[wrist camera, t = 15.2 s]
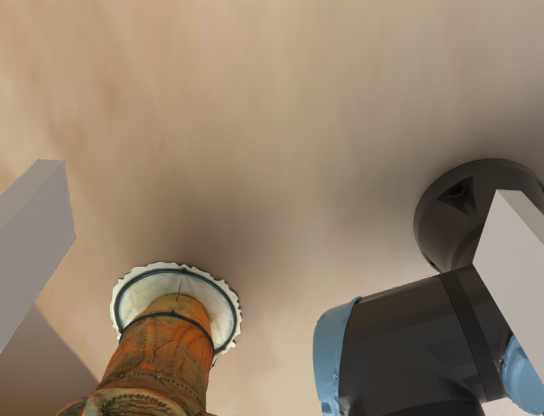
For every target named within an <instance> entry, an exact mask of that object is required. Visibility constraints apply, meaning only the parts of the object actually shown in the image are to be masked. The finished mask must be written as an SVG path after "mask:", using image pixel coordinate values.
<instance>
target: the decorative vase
mask: <svg viewBox="0 0 544 416" xmlns="http://www.w3.org/2000/svg"><path fill="white" fill-rule="evenodd" d="M213 278H214V277H211V276H210V274H209V273H206V272H202V271H200V270H198V269H197V268H195V267H194V266H193V267H192V268H189V267H188V266H187V265H185V264H184V265H182V266H178V265H177V264H176V263H175V262H173V263H168V264H167V263H164V262H161V261H160V262H158V263H155V264H149V265H148V266H147V267H134V268H133V269H132V270H131V272H130V273H128V274H126V275H125V276H124V279H123V280H122V279H118V282H119V283H118V284H117V285H116V286H114V287H113V295H112V301H111V303H110V311H111V318H112V320H113V322H114V323H113V325H112V327H114V328H115V329H116V330H117V333H118V336H117V337H116V339H118V340H119V346H118V348H117V350H116V352H115V353H114V354H113V356H112V358H111V360H110V361H109V364H108V366H107V368H106V371H105V373H104V376H103V378H102V381H101V383H100V384H99V385H98V386H97V388H96V390H95V391H93V392H92V393H91V394H90V395H89V396H88V397H82V398H79V399H77V400H75V401H73V402H71V403H69V404H68V405H66V406H64V407H63V409H61V410H60V411H59V412H58V414H56V415H55V416H217V415H213V414H210V413H207V412H206V391H207V387H208V377H209V371H210V369H211V368H212V367H213V366H214V364H215V362H216V361H215V362H214V364H213V365H212V361H213V358H214V356H216V355H218V354H225V353H226V352H227V351H228V350H229V349H230V348H231V347H233V348H235V344H234V343H233V342H232V341H233V339H234V338H235V336H236V335H238V334H240V333H241V331H240V322H241V321H242V318H241V316H240V314H239V313H240V312H241V311H242V310H239V309H238V306H239V304H238V303H237V302H236V301H237V300H238V297H237V296H236V295H235V293H234V292H232V291H230V290H229V286H228V285H227V284H224V279H223V280H221V281H216V280H213ZM217 359H218V358H217ZM217 359H216V360H217ZM211 365H212V367H211ZM210 367H211V368H210Z"/></svg>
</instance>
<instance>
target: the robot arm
mask: <svg viewBox="0 0 544 416" xmlns="http://www.w3.org/2000/svg"><path fill="white" fill-rule="evenodd" d="M414 235H415V239H416V241H417V244H418V246H419V248H420V250H421V252H422V254H423V256H424V258H425V259H426V260H427V262H428V263H429V264H430V265H431V266H432V267H433V268H434V269H435V270H437V271H438V272H439V273H441V274H439V275H435V276H432V277H429V278H425V279H422V280H419V281H415V282H412V283H409V284H405V285H402V286H399V287H395V288H392V289H389V290H385V291H382V292H379V293H375V294H372V295H369V296H365V297H356V298H355V299H353V300H352V301H351V302H349V303H346V304H343V305H340V306H338V307H335V308H332V309H330V310H328V311H326V312H325V313H323V314H322V315H321V317H320V318H319V320H318V322H317V325H316V328H315V330H314V336H313V367H314V376H315V384H316V389H317V395H318V398H319V401H321V402H322V403H321V406H322V413H323V416H485V414H484V411H483V409H482V406H481V404H482V403H486V402H489V401H493V400H497V399H501V398H506V397H508V398H510V399H511V400H512V402H513V403H515V404H516V405H518V406H519V407H520V408H521V409H522V410H524V411H526V412H528V413H529V414H533V415H540V414H541V413H542V415H543V416H544V183H543V182H542V181H541V180H540V179H539V178H538V177H537V176H536V175H534V174H533V173H532V172H531V171H530V170H529V169H527V168H526V167H524V166H522V165H520V164H518V163H515V162H512V161H508V160H502V159H484V160H477V161H473V162H470V163H466V164H464V165H461V166H459V167H456V168H454V169H453V170H451V171H449V172H447V173H446V174H444V175H443V176H442V177H440V178H439V179H438V180H437V181H436V182H434V183H433V184H432V185H431V187H430V188H429V189H428V190H427V191H426V193H425V194H424V195H423V197H422V199H421V200H420V202H419V204H418V207H417V209H416V213H415V217H414ZM75 239H76V235H75V228H74V222H73V215H72V209H71V202H70V195H69V189H68V182H67V176H66V169H65V162H64V161H58V160H43V159H38V160H37V161H36V162H35V163H34V164H33V165H32V166H31V167H30V168H29V169H28V170H27V171H26V172H25V173H24V174H23V175H21V176H20V177H19V178H18V179H17V180H16V181H15V182H14V183H13V184H12V185H11V186H10V187H9V188H8V189H7V190H6V191H5V192H4V193H3V194H2V195H1V196H0V353H1V352H2V350H3V349H4V347H5V346H6V344H7V343H8V341H9V340H10V338H11V337H12V335H13V334H14V332H15V331H16V329H17V327H18V326H19V324H20V323H21V321H22V320H23V318H24V317H25V315H26V314H27V312H28V311H29V309H30V308H31V306H32V305H33V303H34V301H35V300H36V298H37V297H38V295H39V294H40V292H41V291H42V289H43V288H44V286H45V285H46V283H47V282H48V280H49V279H50V277H51V275H52V274H53V272H54V271H55V269H56V268H57V266H58V265H59V263H60V262H61V260H62V259H63V257H64V256H65V254H66V253H67V251H68V249H69V248H70V246H71V245H72V243H73V242H74V240H75Z"/></svg>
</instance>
